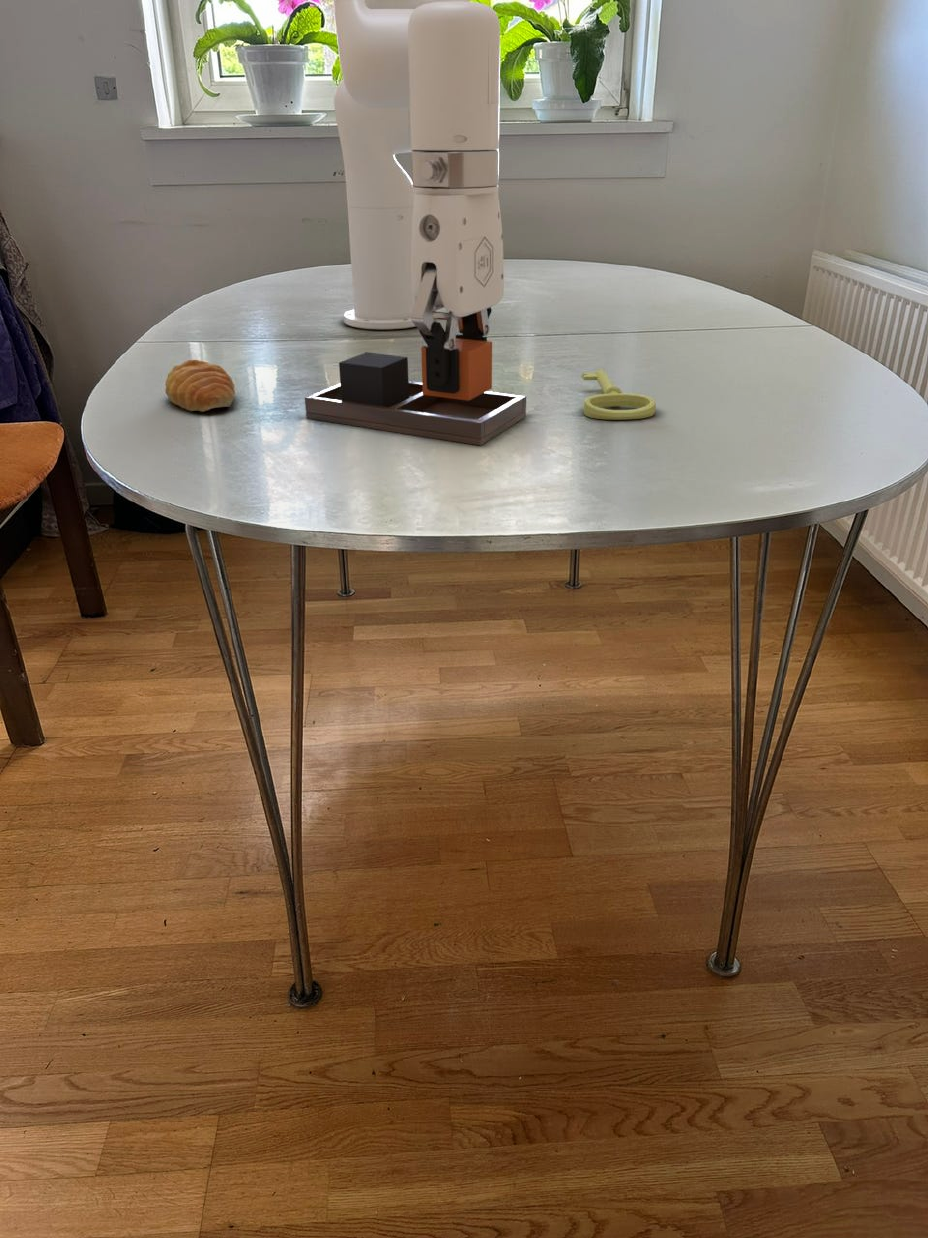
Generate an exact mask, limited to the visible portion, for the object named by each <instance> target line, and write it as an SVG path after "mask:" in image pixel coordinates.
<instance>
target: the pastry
mask: <svg viewBox="0 0 928 1238" xmlns="http://www.w3.org/2000/svg"><path fill="white" fill-rule="evenodd" d="M165 394H166V396H167V398H168V399H169V400H170V401H171V403H173V404H174V405H176V406H179V407H180V408H181V409H185V410H186V411H189V412H195V411H197V412H198V411H199V412H201V413H203V412H206V411H210V410H212V409H216V408H227V407H228V408H229V409H230V407H231V405H232V403H233V402H234V399H235V395H236V389H235V384H234V381H233V379H232V378H231V376H230V375H229V374H228V373H227V371H226V370H225V369H224V368H223V367H222V366H220V365H218V364H214V363H209V362H207V361H204V360H200V359H188V360H185V361H183V362H181V364H179V365H174V366H173V367H172V369H171V370H170V372H169V373H168V374H167V378H166V380H165Z"/></svg>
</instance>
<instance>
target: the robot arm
mask: <svg viewBox="0 0 928 1238" xmlns="http://www.w3.org/2000/svg"><path fill="white" fill-rule="evenodd" d="M333 17H334V25H335V33H336V41H337V47H338V48H337V49H338V50H337V51H338V58H339V65H340V70H341V74H342V75H341V76H342V79H341V80H340V81H339V83H338V84H337V86H336V88H335V92H334V97H333V98H334V99H333V103H334V116H335V120H336V121H335V122H336V126H337V131H338V137H339V141H340V146H341V147H340V148H341V154H342V160H343V167H344V176H345V189H346V190H345V191H346V205H347V221H348V237H349V251H350V253H349V254H350V267H351V268H350V269H351V285H352V286H351V287H352V300H353V302H352V303H353V309H351V310H348V311H345V313H344V314H343V316H342V317H343V323H344V324H345V325H347V326H349V327H352V328H357V329H365V330H400V329H409V328H414V327H415V328H417V329H418V333H419V334H420V336H421V338H422V347H424V348H426V381H427V389H428V390H430V391H437V392H444V393H452V394H454V393H456V392H458V391H459V349H454V346H455V339H456V338H460V339H470V340H480V341H488V335H489V333H490V321H489V319H490V316H491V315H492V311H493V310H492V307H494V306H496V305H497V304H499V303H500V302H501V301H502V299H503V297H504V293H505V291H504V290H505V277H504V276H505V272H504V271H505V270H504V268H505V267H504V266H505V265H504V243H503V242H504V239H503V224H502V213H501V206H500V205H501V204H500V198H499V184H500V183H499V181H500V180H499V179H500V177H499V176H500V175H499V171H500V169H499V168H500V151H499V149H500V88H501V87H500V85H501V84H500V82H501V81H500V80H501V78H500V77H501V76H500V75H501V74H500V73H501V66H502V65H501V64H502V63H501V62H502V61H501V60H502V59H501V57H502V56H501V26H500V25H501V24H500V19H499V17H498V14H497V13H496V11H495V10H494V9H493V8H492V7H491V6H490V5H487V4H485V3H483V2H482V3H480V2H476V1H471V0H333ZM405 153H411V155H410V156H411V177H410V176H409V174H408V173H407V171H406V170H405V169H404V168H403V167H402V165H401V164H400V163H399V162H398V161H397V159H396V156H397V155H398V154H405ZM441 309H445V311H446V312H444V311H438V310H441ZM438 321H445V329H444V327H443V326H442V323H441V322H438ZM457 328H458V332H459V333H457Z"/></svg>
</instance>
